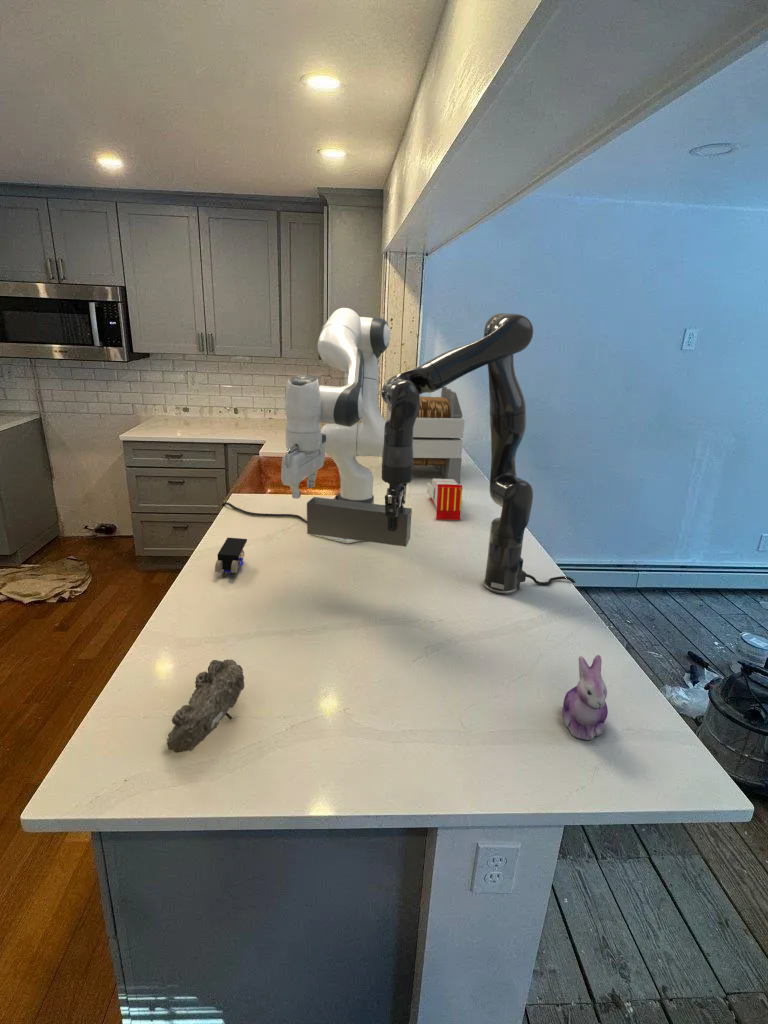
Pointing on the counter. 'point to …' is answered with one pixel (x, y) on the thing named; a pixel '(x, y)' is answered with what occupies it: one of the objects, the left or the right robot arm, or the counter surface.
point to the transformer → (438, 434)
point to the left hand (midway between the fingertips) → (303, 492)
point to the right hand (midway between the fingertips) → (394, 526)
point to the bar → (357, 521)
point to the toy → (446, 498)
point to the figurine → (586, 702)
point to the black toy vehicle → (230, 556)
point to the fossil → (206, 705)
